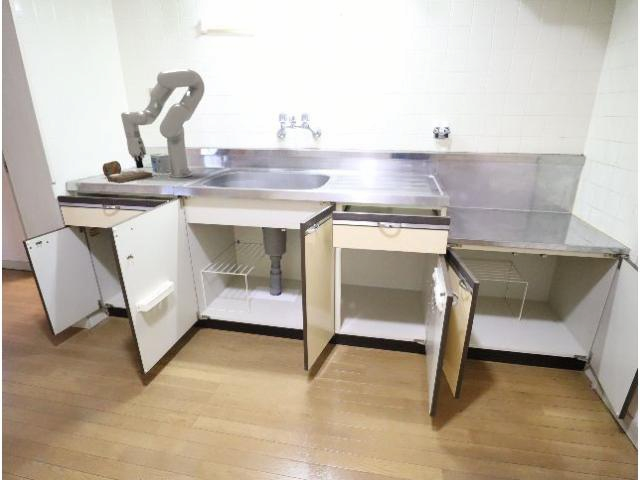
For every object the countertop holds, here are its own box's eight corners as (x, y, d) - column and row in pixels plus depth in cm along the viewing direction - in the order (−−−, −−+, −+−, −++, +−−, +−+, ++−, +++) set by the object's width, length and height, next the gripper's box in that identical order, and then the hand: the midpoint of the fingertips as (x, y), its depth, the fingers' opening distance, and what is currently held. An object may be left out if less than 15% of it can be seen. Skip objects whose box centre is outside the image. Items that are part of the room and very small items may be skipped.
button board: (152, 177, 210) (151, 172, 209) (119, 183, 194) (118, 178, 193) (140, 175, 216) (140, 170, 215) (107, 181, 200) (106, 176, 199)
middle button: (134, 175, 206) (133, 170, 205) (126, 177, 202) (125, 171, 201) (129, 175, 208) (128, 169, 207) (122, 176, 205) (121, 171, 204)
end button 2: (145, 175, 212) (144, 170, 211) (138, 177, 208) (137, 171, 207) (140, 175, 214) (140, 170, 213) (134, 176, 211) (133, 171, 210)
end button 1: (122, 179, 201) (121, 174, 200) (115, 181, 197) (114, 175, 196) (118, 179, 203) (117, 173, 202) (110, 180, 199) (109, 175, 198)
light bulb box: (152, 171, 227) (149, 154, 223) (162, 170, 232) (159, 153, 229) (162, 173, 222) (160, 155, 218) (172, 171, 227) (169, 154, 223)
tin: (108, 178, 207) (105, 163, 204) (103, 178, 207) (100, 163, 204) (122, 173, 221) (120, 159, 218) (117, 173, 221) (115, 159, 218)
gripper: (147, 134, 202) (154, 167, 209) (131, 134, 210) (138, 166, 216) (134, 135, 196) (142, 169, 203) (119, 135, 204) (126, 168, 210)
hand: (140, 167), depth 210 cm, fingers closed
